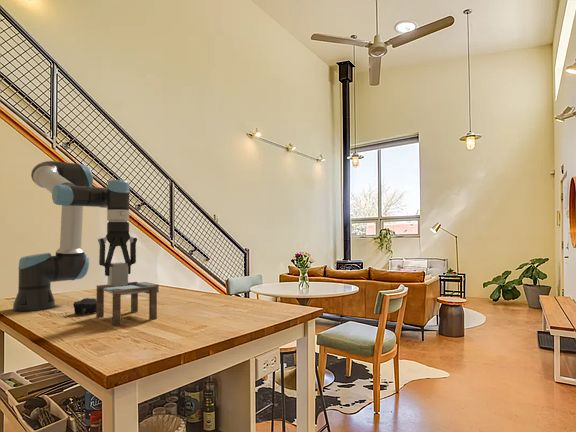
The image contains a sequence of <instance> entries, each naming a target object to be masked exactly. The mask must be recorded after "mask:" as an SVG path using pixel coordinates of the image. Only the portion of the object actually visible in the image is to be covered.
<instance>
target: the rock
mask: <svg viewBox="0 0 576 432" xmlns="http://www.w3.org/2000/svg"><path fill="white" fill-rule="evenodd" d="M96 304H97V298H88V297H87V298H86V297H85V298H82V299H81V300H78V301H74V302H73V304H72V305H73V308H74V309H73V310H74V314H76V315H84V314H83V313H85V314H88V313H89V314H95V313H94V312H96Z"/></svg>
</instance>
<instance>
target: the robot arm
mask: <svg viewBox="0 0 576 432" xmlns="http://www.w3.org/2000/svg"><path fill="white" fill-rule="evenodd" d="M30 176H31V180H32V182H34V184H35V185H37V186H38V187H40V188H43V189H46V190H47V191H49V192H50V193H51V198H52V201H53V204H54V205H58V206H61V212H60V213H61V216H60V238H59V239H60V241H59V248H58V249H56V251H55V255H52V254H51V253H50V252H44V253H36V254H30V255H25V256H22V257H20V259H19V262H18V269H17V270H18V287H17V288H18V291H17V294H16V296H15V300H14V302H13V305H12V311H14V312H31V311H42V310H46V309H50V308H53V307H55V306H56V300H55V298H54V297H55V296H54V295H53V292H52V290H51V283H53V282H54V283H55V282H64V281H66V282H67V281H75V280H76V281H77V280H81V279H83V278H85V276H86V275H87V274H88V272H89V271H88V270H89V267H90V258H89V256H88V254H86V252H85V250H84V249H83V248H82V236H83V216H84V213H83V212H84V207H93V208H96V207H97V208H101V209H102V208H105V209H106V208H107V210H106V213H107V215H106V220H107V223H106V234H105V237H101V238H98V239H97V242H98V243H99V257H98V258H99V259H98V265H99V266H102V267H104V275H105V277H107V280H106V281H107V282H106V283H107V284H106V285H112V267H110V264H111V263H112V259H113V256H114V252H115V249H116V247H120V249H121V252H122V255H123V260H124V263H128V275H131V271H132V270H131V267H132V265H135V264H136V263H137V256H136V255H137V251H136V250H137V241H138V238H137V237H133V236H131V234H130V223H129V221H130V192H131V190H130V183H129V182H128V181H127V180H124V179H123V180H121V179H110V180H108V181H107V184H106V185H107V186H106V187H100V186H99V187H97V186H96V187H95V186H93V185H94V177H93V172H92V170H91V168H90V167H89V166H88V165H86V164H81V163H73V162H64V161H55V160H48V161H47V160H46V161H42V162H40V163H37V164H36V165H35V166H34V167H33V168H32V170H31V175H30ZM107 242H108V243H109V245H108V252H107V254H106V243H107ZM128 242H129V245H130V246H129V251H130V252H129V251H128V245H127V243H128ZM129 253H130V254H129Z"/></svg>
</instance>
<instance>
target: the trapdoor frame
mask: <svg viewBox="0 0 576 432" xmlns="http://www.w3.org/2000/svg"><path fill="white" fill-rule="evenodd" d="M136 283H139V282H138V281H128V285H123V286H130V285H135V286H136ZM111 287H121V286H110V285H107V284H100V285H99V284H98V285H96V299H97V304H96V313H95V315H96V318H97V317H98V318H97V319H99V317H101V318H104V317H105V314H104V312H105V311H104V310H105V309H104V308H105V307H104V306H105V301H104V299H105V298H104V297H105V291H104V288H111ZM145 290H149V294H148V296H149V298H148V300H149V303H148V306H149V307H148V314H149V315H148V319H149V320H152V321H153V320H157V319H158V317H157V316H158V315H157V314H158V313H157V312H158V304H157V302H158V293H157V286H148V287H140V288H131V289H122V290H113V294H112V324H111V325H112V326H113V327H119V326H121V324H122V323H121V314H122V312H121V308H122V307H121V304H122V302H121V301H122V300H121V296H122V295H121V293H128V292H136V291H145ZM138 302H139V293H134V294H130V313H137V312H139V303H138ZM118 325H119V326H118Z"/></svg>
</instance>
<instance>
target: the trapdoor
mask: <svg viewBox="0 0 576 432" xmlns="http://www.w3.org/2000/svg"><path fill="white" fill-rule="evenodd" d="M159 285H160V284H159V283H158V284H157V283H152V282H148V281H142V282H141V281H140V282H138V283H136V286H135V285H129V286H120V287H110V288H104V292H106V293H110V294H112V295H113V290H122V289H131V288H140V287H148V286H157V294H158V293H159V292H160V291H159V289H160V286H159ZM134 293H138V294H140V293H141V294H142V293H144V294H147V295H149V290H145V291H136V292H128V293H121V296H124V295H125V296H126V295H131V294H134Z"/></svg>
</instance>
